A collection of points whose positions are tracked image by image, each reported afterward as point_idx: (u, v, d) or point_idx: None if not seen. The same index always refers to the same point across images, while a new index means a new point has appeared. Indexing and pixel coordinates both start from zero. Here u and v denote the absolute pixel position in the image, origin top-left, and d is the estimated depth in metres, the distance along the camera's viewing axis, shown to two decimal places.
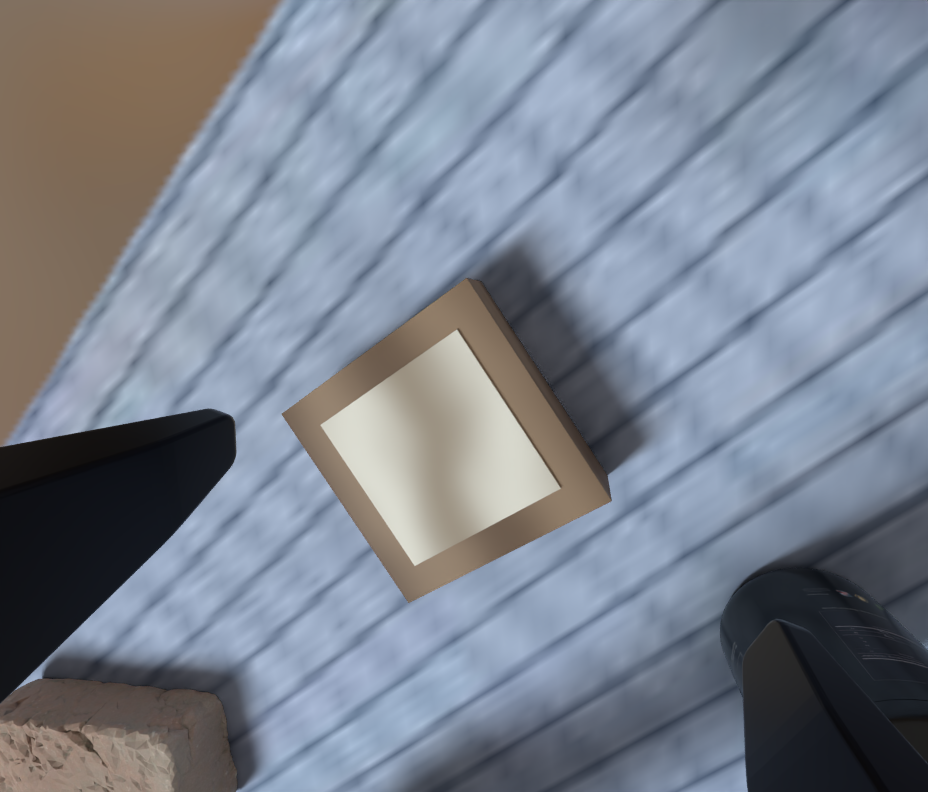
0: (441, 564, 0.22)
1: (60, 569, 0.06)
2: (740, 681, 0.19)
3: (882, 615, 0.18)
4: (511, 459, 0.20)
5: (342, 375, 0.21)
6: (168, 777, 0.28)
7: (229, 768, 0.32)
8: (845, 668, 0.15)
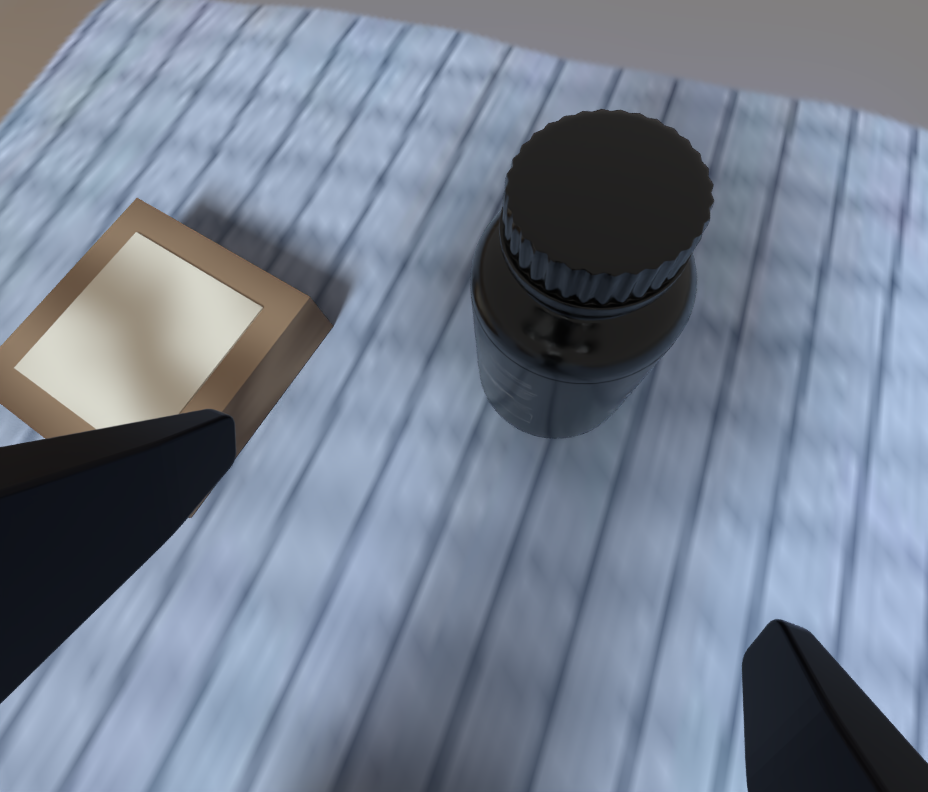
0: None
1: (58, 570, 0.06)
2: (488, 383, 0.19)
3: None
4: (212, 306, 0.21)
5: (35, 314, 0.22)
6: None
7: None
8: None
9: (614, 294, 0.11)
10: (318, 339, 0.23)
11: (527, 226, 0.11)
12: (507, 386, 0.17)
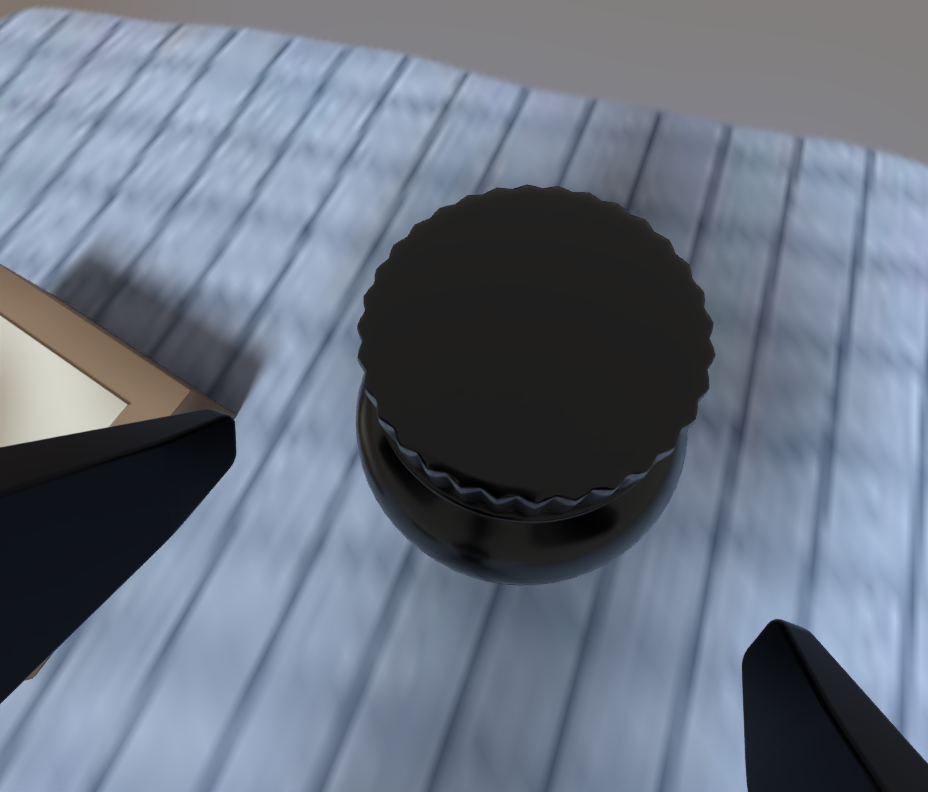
0: None
1: (59, 570, 0.06)
2: None
3: None
4: (64, 402, 0.16)
5: None
6: None
7: None
8: None
9: (547, 505, 0.06)
10: None
11: (387, 398, 0.06)
12: None
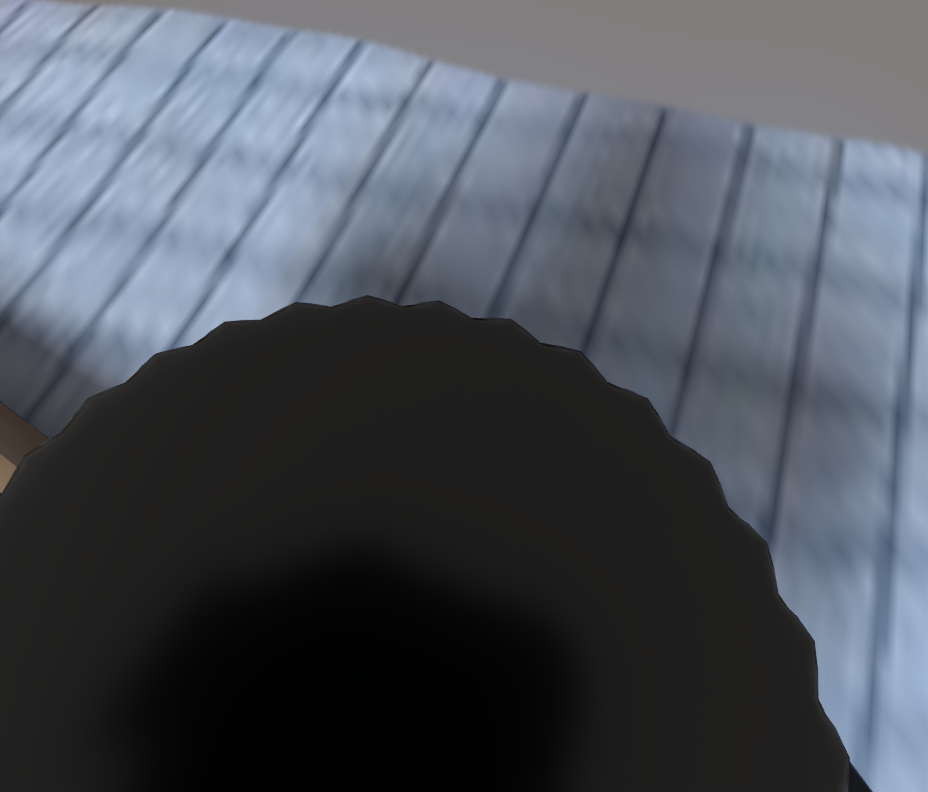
0: None
1: None
2: None
3: None
4: None
5: None
6: None
7: None
8: None
9: None
10: None
11: None
12: None
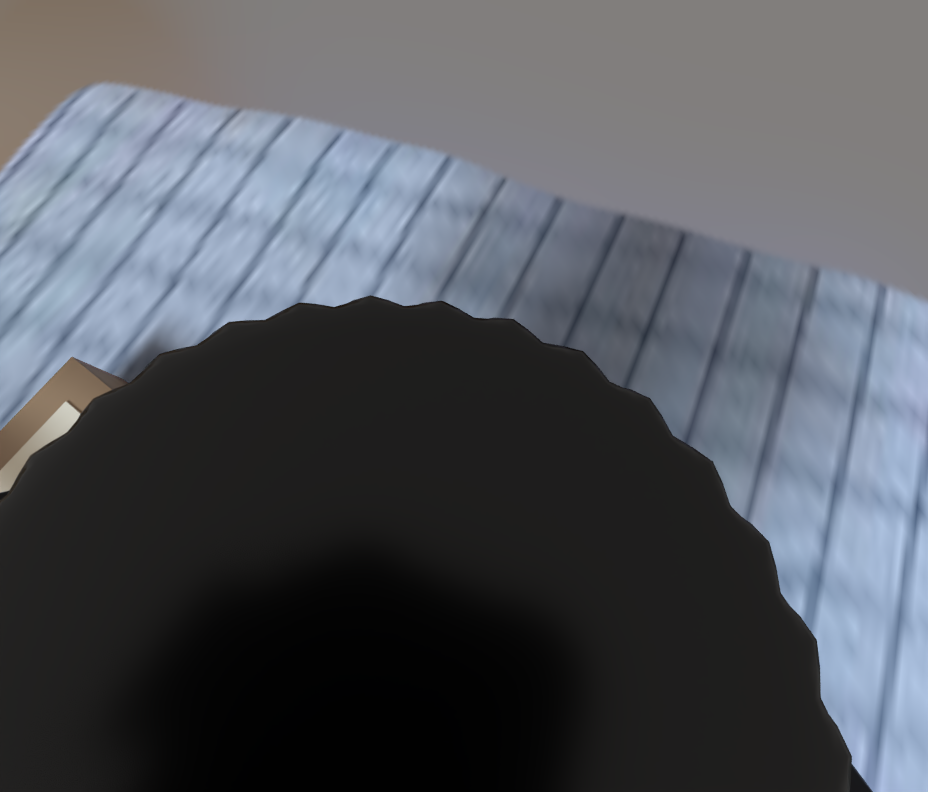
0: None
1: None
2: None
3: None
4: None
5: None
6: None
7: None
8: None
9: None
10: None
11: None
12: None
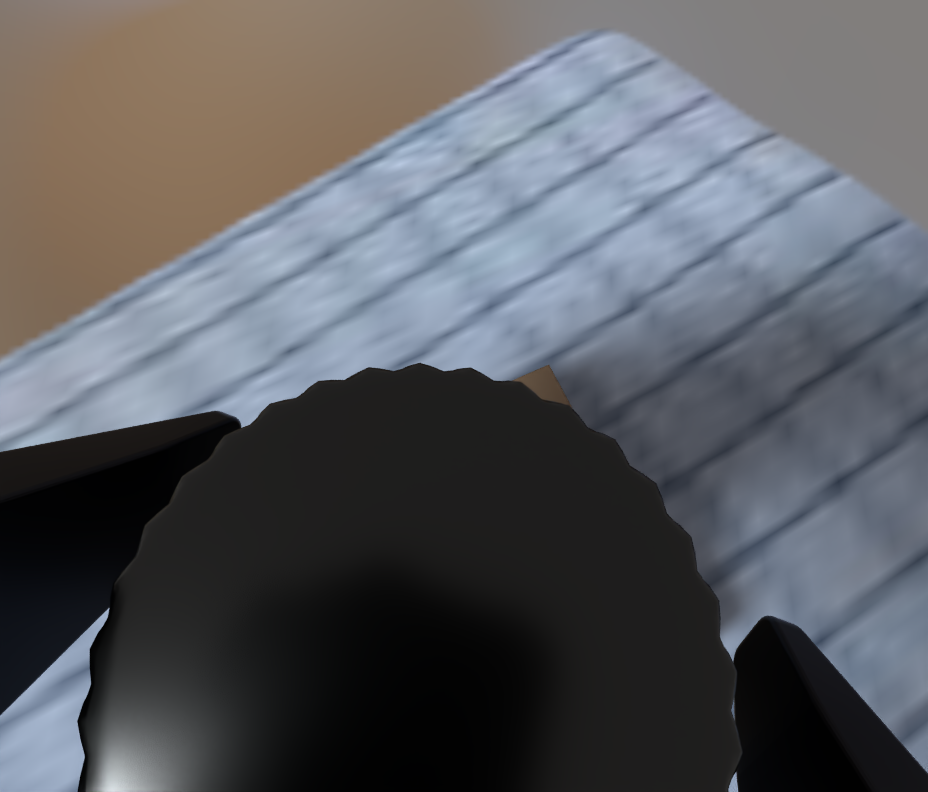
0: None
1: (66, 573, 0.06)
2: None
3: None
4: None
5: None
6: None
7: None
8: None
9: None
10: None
11: None
12: None
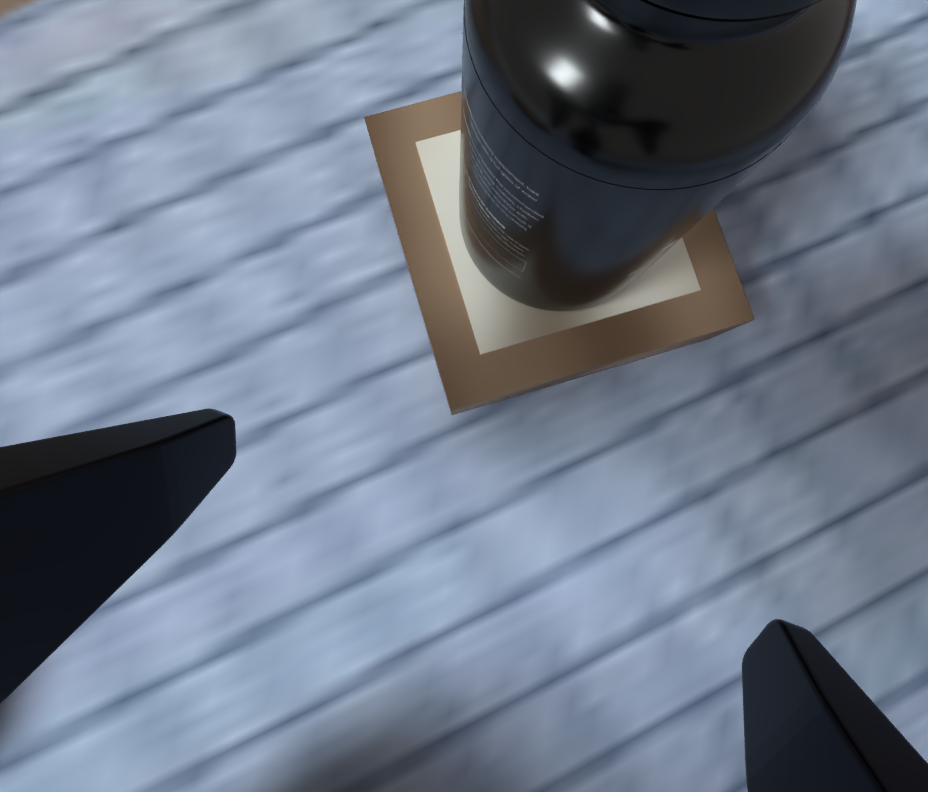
0: (518, 360, 0.16)
1: (59, 570, 0.06)
2: (471, 209, 0.13)
3: None
4: None
5: None
6: None
7: None
8: None
9: None
10: (690, 343, 0.19)
11: None
12: (498, 204, 0.11)
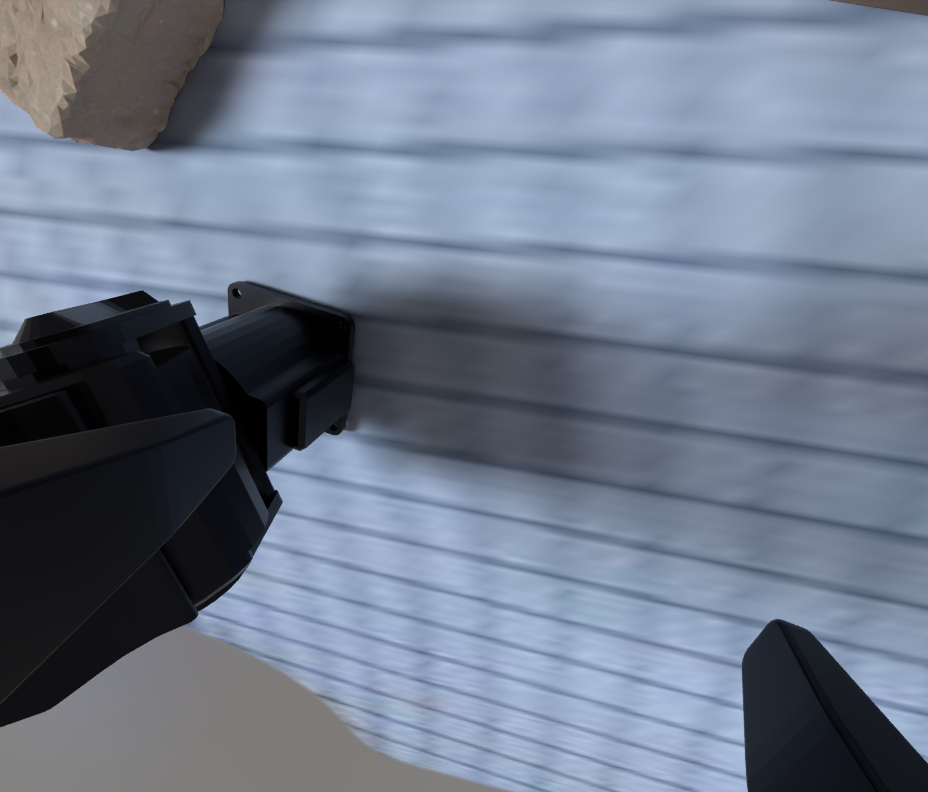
0: None
1: (60, 569, 0.06)
2: None
3: None
4: None
5: None
6: (96, 4, 0.15)
7: (162, 111, 0.20)
8: None
9: None
10: None
11: None
12: None
